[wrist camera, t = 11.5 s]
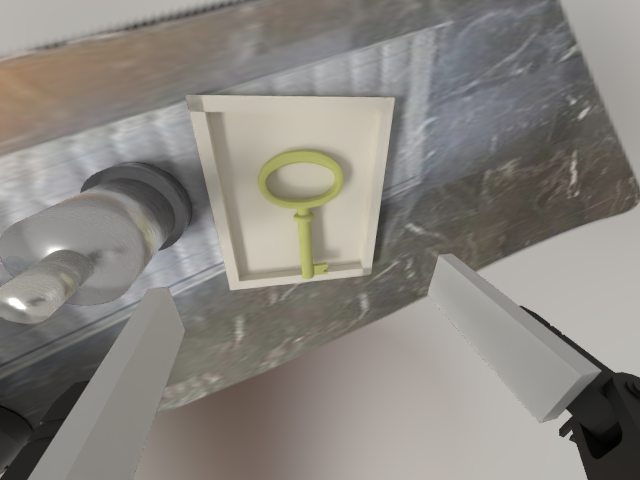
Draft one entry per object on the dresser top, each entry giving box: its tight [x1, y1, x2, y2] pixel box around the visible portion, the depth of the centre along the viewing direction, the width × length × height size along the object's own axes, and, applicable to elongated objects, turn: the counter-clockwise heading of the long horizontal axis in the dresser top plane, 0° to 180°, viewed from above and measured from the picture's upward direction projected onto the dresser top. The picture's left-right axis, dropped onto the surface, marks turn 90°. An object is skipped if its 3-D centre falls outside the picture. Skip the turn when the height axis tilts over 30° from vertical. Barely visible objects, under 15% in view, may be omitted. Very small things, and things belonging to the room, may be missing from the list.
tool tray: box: [185, 95, 395, 290], centre depth 22 cm, size 15×17×2 cm
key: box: [258, 150, 344, 279], centre depth 22 cm, size 7×12×2 cm, turn 20°
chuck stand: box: [0, 162, 192, 324], centre depth 15 cm, size 7×7×12 cm
